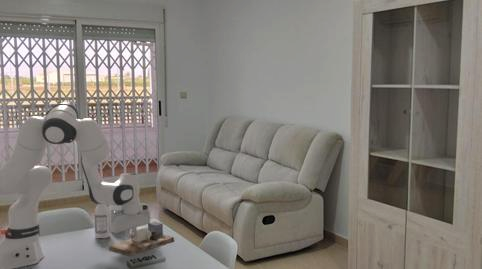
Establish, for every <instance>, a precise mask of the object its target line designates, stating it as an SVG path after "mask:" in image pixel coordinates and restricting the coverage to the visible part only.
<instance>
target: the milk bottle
mask: <svg viewBox="0 0 482 269" xmlns="http://www.w3.org/2000/svg"><path fill="white" fill-rule="evenodd" d="M108 209H109V217H110V222H111V215H112V213H113V212H116V211H120V205H119V206H117V205H108Z"/></svg>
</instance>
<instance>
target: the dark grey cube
mask: <svg viewBox="0 0 482 269" xmlns="http://www.w3.org/2000/svg"><path fill="white" fill-rule="evenodd" d="M147 228H148V230H149V231H151V230H152V231H156V237H158V236H161V235H163V234H164V224H163V223H162V222H158V221H150V223H149V224H147Z"/></svg>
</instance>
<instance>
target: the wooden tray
mask: <svg viewBox="0 0 482 269" xmlns="http://www.w3.org/2000/svg"><path fill="white" fill-rule="evenodd" d="M156 239H158V240H151V239H150V236H148V239H146V240H143V241H140V242H136V241H133V240H131V238H130V239H127V240H124V241H120V242H118V243H114V244H113V243H112V244H110V245H109V246H108V247H109V248H108V249H109V250H111V251H114V252H117V253H119V254H123V255H125V256H129V257H130V256H131V255H135V254H138V253H141V252H143V251H147V250H150V249H152V248H155V247H158V246H161V245H164V244H167V243H170V242H173V241H175V240H174V239H175V238H174V236H171V235H167V234H164V233H163V235H161V236H158V237H156Z"/></svg>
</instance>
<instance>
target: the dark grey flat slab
mask: <svg viewBox="0 0 482 269" xmlns="http://www.w3.org/2000/svg"><path fill="white" fill-rule="evenodd" d="M151 232H152V236H150V239H151V240H158V239H156V231H152V230H151Z"/></svg>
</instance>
